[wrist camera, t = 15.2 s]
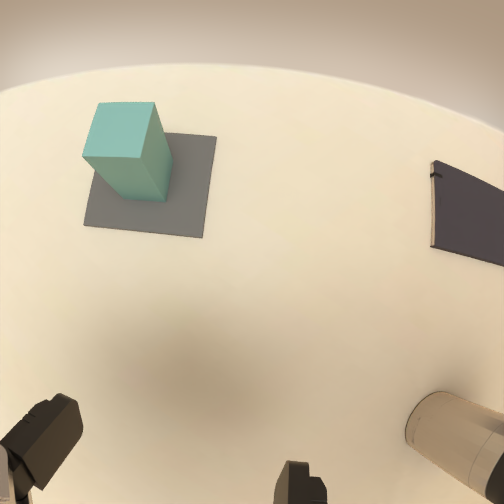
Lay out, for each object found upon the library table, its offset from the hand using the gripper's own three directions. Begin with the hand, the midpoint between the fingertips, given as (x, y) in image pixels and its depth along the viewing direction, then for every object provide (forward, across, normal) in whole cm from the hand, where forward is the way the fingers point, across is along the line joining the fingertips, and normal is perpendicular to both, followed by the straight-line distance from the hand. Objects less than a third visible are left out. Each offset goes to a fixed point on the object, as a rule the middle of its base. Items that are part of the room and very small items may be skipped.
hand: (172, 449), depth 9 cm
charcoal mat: (+26, +13, -7) cm, 30 cm away
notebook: (+35, -33, -11) cm, 49 cm away
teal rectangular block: (+26, +13, -7) cm, 30 cm away
